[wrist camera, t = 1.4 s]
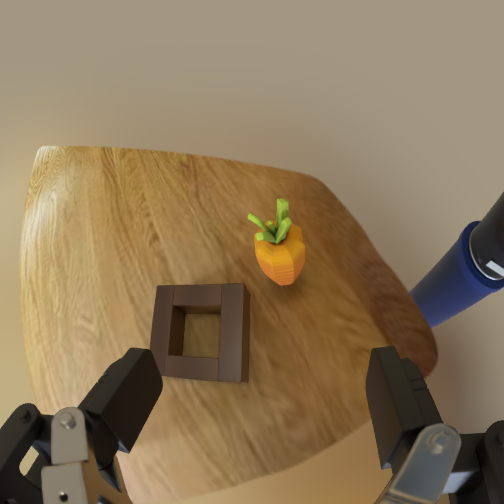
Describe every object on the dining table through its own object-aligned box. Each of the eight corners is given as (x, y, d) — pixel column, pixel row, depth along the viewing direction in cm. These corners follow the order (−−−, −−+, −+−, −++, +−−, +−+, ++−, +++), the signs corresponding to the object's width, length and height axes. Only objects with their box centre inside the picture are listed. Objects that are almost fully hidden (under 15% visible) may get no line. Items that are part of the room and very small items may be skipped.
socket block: (250, 293, 35) (244, 282, 31) (248, 382, 30) (241, 382, 26) (170, 295, 36) (156, 285, 33) (163, 375, 32) (147, 373, 28)
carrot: (278, 307, 33) (260, 252, 20) (259, 275, 36) (232, 205, 22) (313, 287, 34) (318, 220, 20) (292, 256, 36) (284, 179, 23)
